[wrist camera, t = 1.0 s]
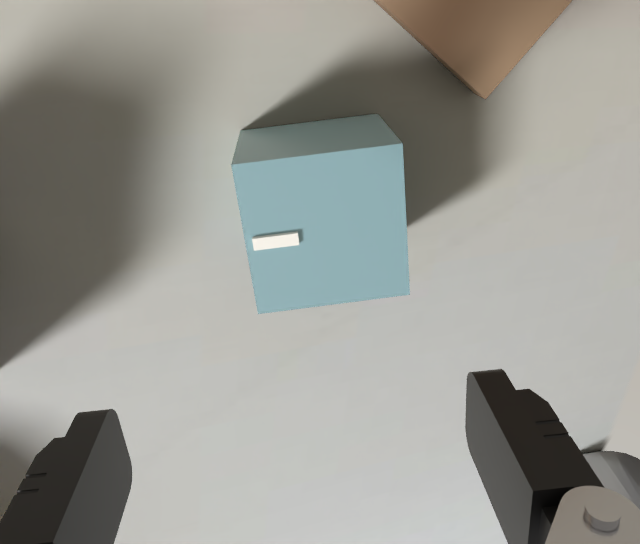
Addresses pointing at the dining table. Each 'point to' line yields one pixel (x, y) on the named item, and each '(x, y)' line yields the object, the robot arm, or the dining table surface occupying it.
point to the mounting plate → (476, 33)
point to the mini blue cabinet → (323, 212)
